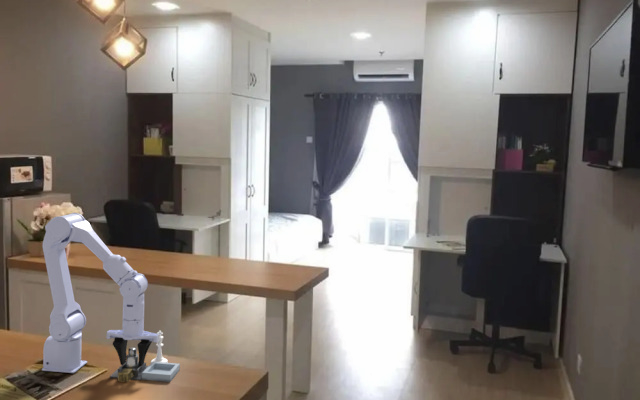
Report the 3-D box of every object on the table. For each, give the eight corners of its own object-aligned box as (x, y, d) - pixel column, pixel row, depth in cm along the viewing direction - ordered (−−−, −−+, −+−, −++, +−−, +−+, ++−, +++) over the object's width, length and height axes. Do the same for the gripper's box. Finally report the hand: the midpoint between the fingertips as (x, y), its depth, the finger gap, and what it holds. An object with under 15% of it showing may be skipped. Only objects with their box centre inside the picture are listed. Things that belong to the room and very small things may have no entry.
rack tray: (142, 379, 152) (142, 372, 151) (152, 368, 159) (152, 361, 159) (170, 381, 151) (170, 374, 151) (179, 370, 159) (179, 363, 159)
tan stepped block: (117, 381, 150) (118, 373, 150) (124, 375, 154) (124, 367, 153) (127, 381, 150) (128, 374, 149) (133, 375, 154) (133, 368, 153)
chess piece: (162, 367, 161) (163, 334, 160) (147, 365, 161) (148, 332, 161) (170, 361, 165) (171, 329, 164) (155, 359, 166) (156, 327, 165)
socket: (109, 377, 152) (109, 370, 151) (123, 365, 160) (123, 358, 160) (141, 380, 151) (141, 373, 151) (153, 367, 160) (153, 360, 160)
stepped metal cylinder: (124, 374, 154) (124, 350, 154) (128, 369, 157) (129, 346, 157) (135, 375, 154) (135, 351, 153) (139, 370, 157) (140, 347, 157)
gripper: (101, 320, 151) (100, 367, 152) (153, 324, 150) (151, 371, 151) (113, 312, 158) (112, 358, 159) (162, 316, 157) (161, 362, 158)
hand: (132, 364), depth 156 cm, fingers open, 5 cm apart
